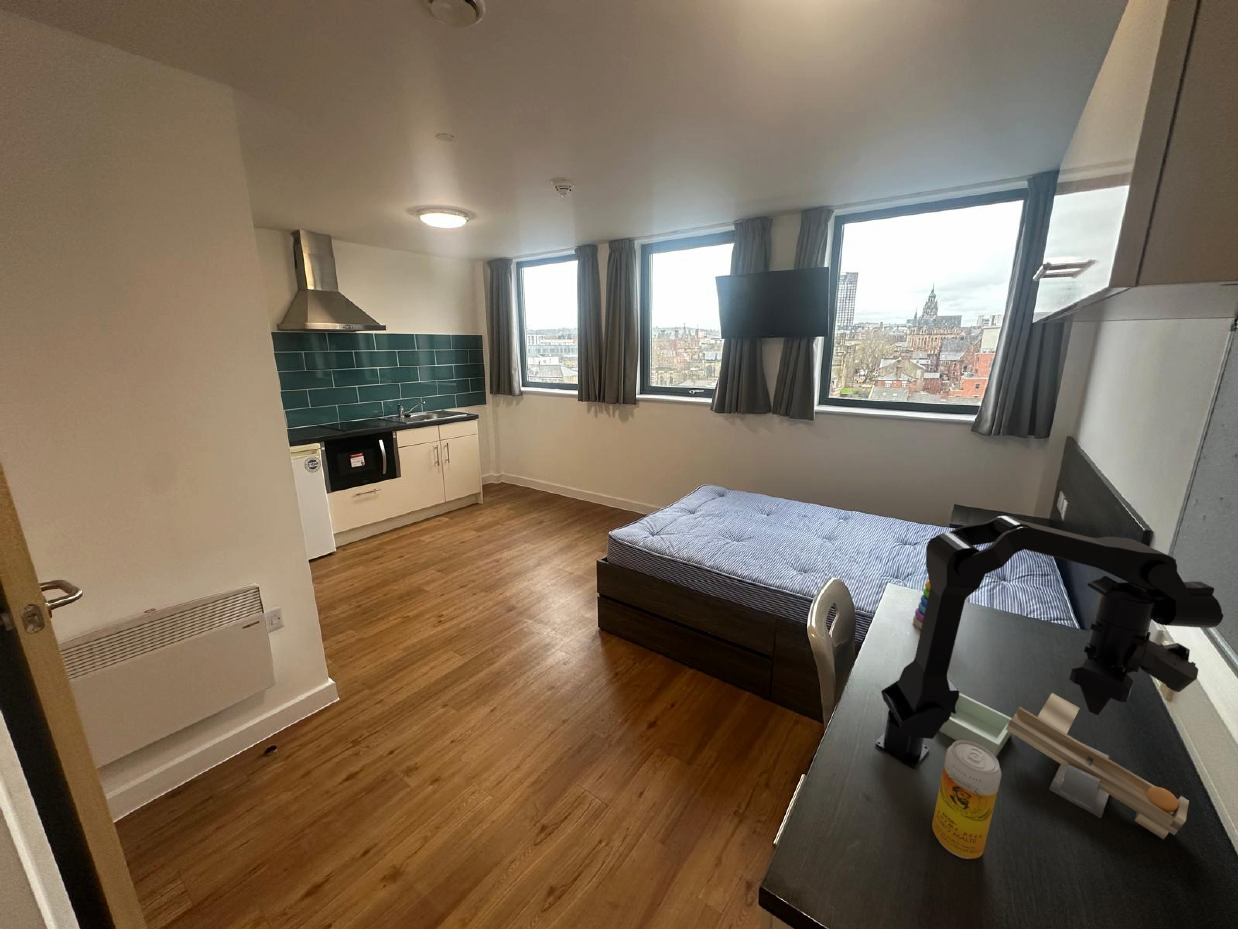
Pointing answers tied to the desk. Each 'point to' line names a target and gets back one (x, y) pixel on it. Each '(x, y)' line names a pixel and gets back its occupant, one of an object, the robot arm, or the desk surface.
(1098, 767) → the lever
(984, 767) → the beer can
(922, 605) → the stacking toy
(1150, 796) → the ball
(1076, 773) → the silver support block
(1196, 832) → the desk surface
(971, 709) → the tray
